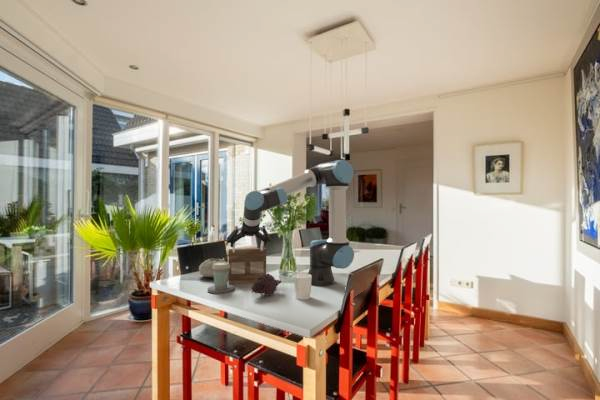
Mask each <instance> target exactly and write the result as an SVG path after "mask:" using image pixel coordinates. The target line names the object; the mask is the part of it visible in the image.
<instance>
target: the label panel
mask: <svg viewBox="0 0 600 400" xmlns="http://www.w3.org/2000/svg"><path fill="white" fill-rule="evenodd" d="M228 263H229V265H230V268H229V276H228V284H229V285H245V284H247V285H248V284H254V283H255V282H256V280H257V278H258V277H259V276H260V275H263V274H267V247H263V251H261V247H260V248H259V247H258V248H256V247H254V248H253V247H252V248H235V252H233V248H229V249H228Z"/></svg>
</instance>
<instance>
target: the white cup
mask: <svg viewBox="0 0 600 400" xmlns="http://www.w3.org/2000/svg"><path fill="white" fill-rule="evenodd" d="M311 281H312V275H310V274H308V273H296V274H294V292H295V298H296V299H297V300H301V301H306V300H309V299H311V292H312V285H311Z"/></svg>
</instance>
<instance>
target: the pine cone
mask: <svg viewBox="0 0 600 400" xmlns="http://www.w3.org/2000/svg"><path fill="white" fill-rule="evenodd" d="M281 283H282V280H279V279H275V277H274V276H273V275H272V274H270V273H266V274H263V275H260V276H259V277H258V278H257V280H256V282H255V283H252V285H251V288H250V289H251V292H252V293H253V292H254V294H260V295H261V294H265V296H267V295H268V296H270V295H273V294H274V293H276V292H275V291H277V287H278V285H280V284H281Z"/></svg>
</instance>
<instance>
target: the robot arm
mask: <svg viewBox="0 0 600 400" xmlns="http://www.w3.org/2000/svg"><path fill="white" fill-rule="evenodd" d="M354 175H355V174H354V169H353V166H352V165H351V164H350V162H349V161H347V160H344V159H336V160H331V161H327V162H326V161H324V162H321V163H319V164H317V165H314V166H313V167H310V168H308V169H305V170H304V172H302V173H300V174H298V175H296V176H293V177H291V178H288V179H285V180H282V181H280V182H278V183H275V184H272V185H270V186H267V187H266V188H265V187H264V188H262V189H260V190H250V191H248V192H247V193H246V194H245V199H244V207H243V216H242V223H241V224H242V226H241V227H238V226H237V225H235V226H234V229H233V230H232V231H231V233H230V234H229V235H228V236H227V237H226V242H227V244H230V248H232V249H233V252H235V249H236V242H238V241H239V240H240V239H243V238H245V237H250V236H251V237H253V236H255V238H258V239H259V240H261V242H260V248H261V251H263V248H264V247H265V246H266V245H267V242H271V236H270V235H269V233H268V231H267V230H266V225H262V226H260V224H261V218H262V214H263V213H262V212H265V211H267V210H270V209H273V208H275V207H279V206H281V205H284V204H286V203H287V201H288V196H290V195H292V194H294V193H297V192H299V191H302V190H304V189H307V188H309V187H310V188H313V187H316V186H321V185H325V189H326V190H328V238H326V239H315V240H311V242H310V244H309V268H308V269H309V270H308V273H307V274H310V275H312V281H311V286H312V285H313V286H317V287H318V286H320V287H321V286H331V285H332V286H333V285H334V284H335V276H334V273H333V271H332V267H333V268H335V269H342V270H343V269H346V268H349V267H350V266H351V264H352V263H353V261H354V258H355V251H354V249H353V248H352V247H351V246H350V240H349V239H348V238H347V189H348V188H350V187H349V186H350V185H349V184H350V182H352V179H354Z"/></svg>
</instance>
